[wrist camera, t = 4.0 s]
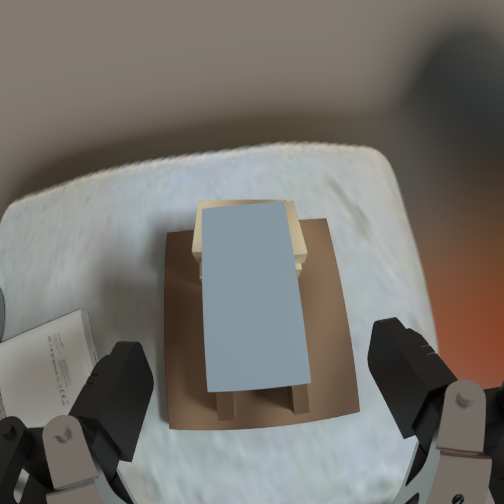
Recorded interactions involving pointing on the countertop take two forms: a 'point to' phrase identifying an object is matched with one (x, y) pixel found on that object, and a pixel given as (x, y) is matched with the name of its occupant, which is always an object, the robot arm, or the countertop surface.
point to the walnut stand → (270, 399)
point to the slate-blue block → (251, 300)
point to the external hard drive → (46, 368)
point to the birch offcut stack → (293, 221)
